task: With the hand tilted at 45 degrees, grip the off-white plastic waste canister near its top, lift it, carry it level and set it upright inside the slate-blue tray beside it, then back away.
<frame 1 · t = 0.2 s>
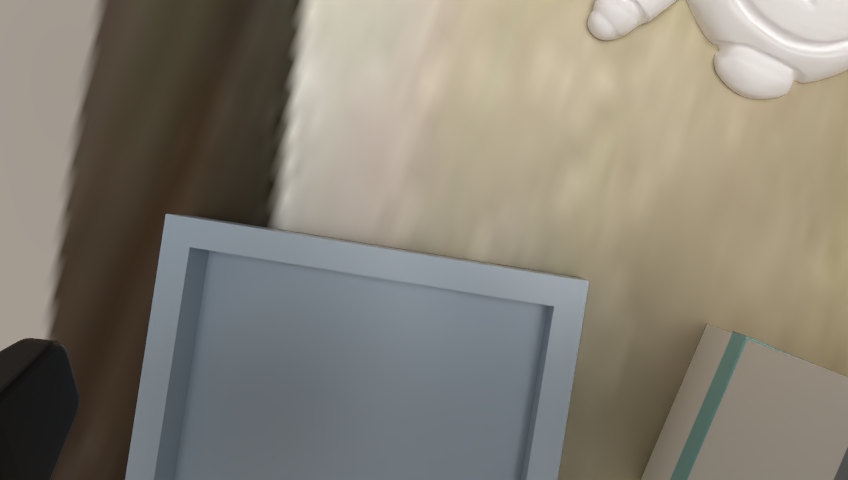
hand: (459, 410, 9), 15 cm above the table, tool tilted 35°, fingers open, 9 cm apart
drip tray: (353, 438, 24), on the table
waste canister: (755, 437, 23), on the table
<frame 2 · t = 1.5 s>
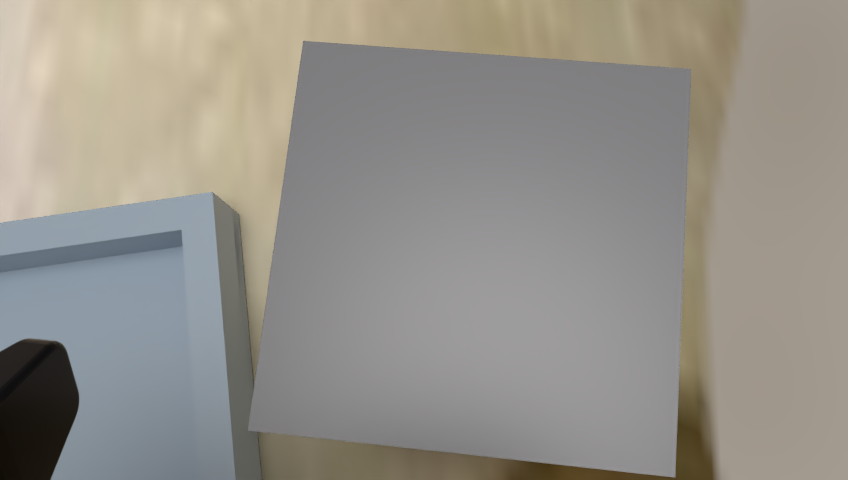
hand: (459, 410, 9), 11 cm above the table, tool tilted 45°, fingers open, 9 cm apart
drip tray: (30, 469, 20), on the table
waste canister: (472, 325, 20), on the table
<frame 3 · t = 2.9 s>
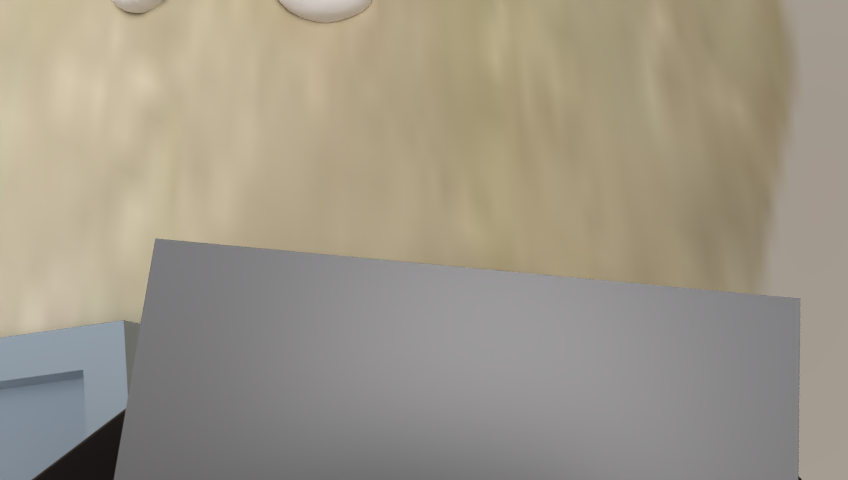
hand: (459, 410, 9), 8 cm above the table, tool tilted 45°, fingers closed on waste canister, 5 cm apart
waste canister: (456, 476, 16), on the table, touching gripper
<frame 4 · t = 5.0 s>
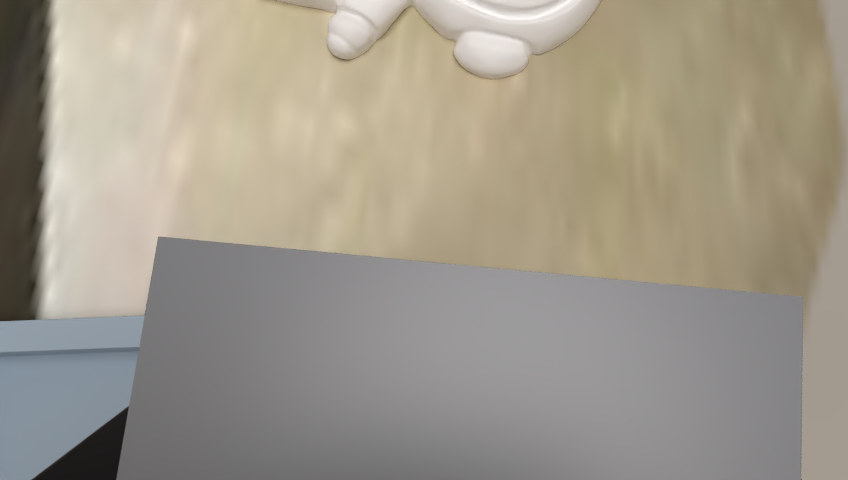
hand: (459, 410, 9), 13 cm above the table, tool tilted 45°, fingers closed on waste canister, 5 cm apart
waste canister: (457, 476, 16), point 6 cm above the table, touching gripper
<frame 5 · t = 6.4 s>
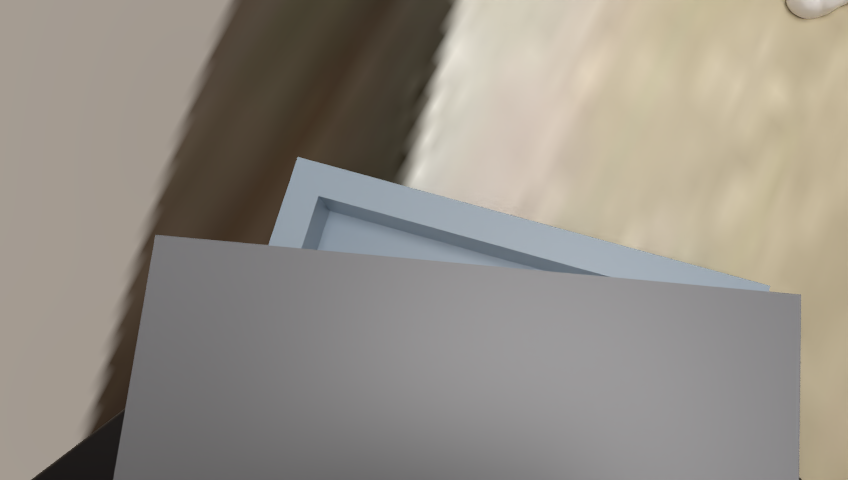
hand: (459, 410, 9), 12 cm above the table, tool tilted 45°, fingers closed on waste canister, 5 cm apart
drip tray: (460, 452, 20), on the table
waste canister: (456, 475, 16), point 4 cm above the table, touching gripper
when the fingers open (9 cm above the table, at t = 7.3 s): waste canister drops 1 cm, resting on drip tray.
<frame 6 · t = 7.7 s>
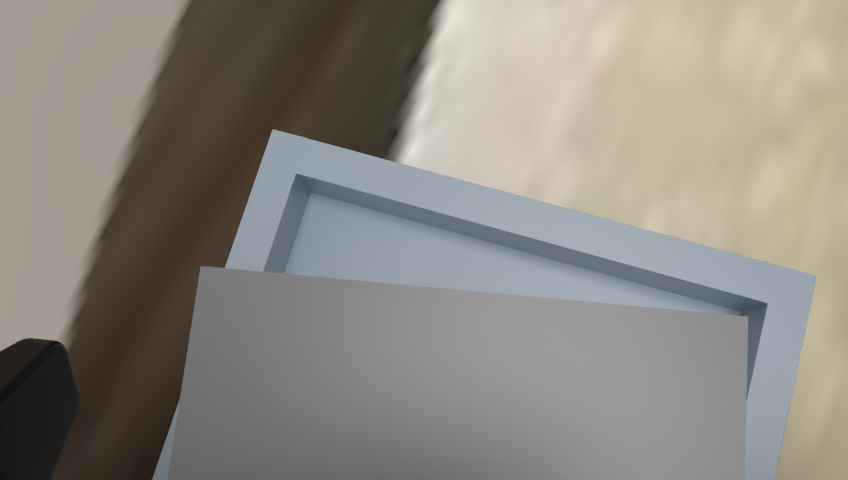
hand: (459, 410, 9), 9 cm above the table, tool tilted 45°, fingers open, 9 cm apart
drip tray: (458, 468, 18), on the table
waste canister: (457, 471, 17), point 1 cm above the table, touching drip tray
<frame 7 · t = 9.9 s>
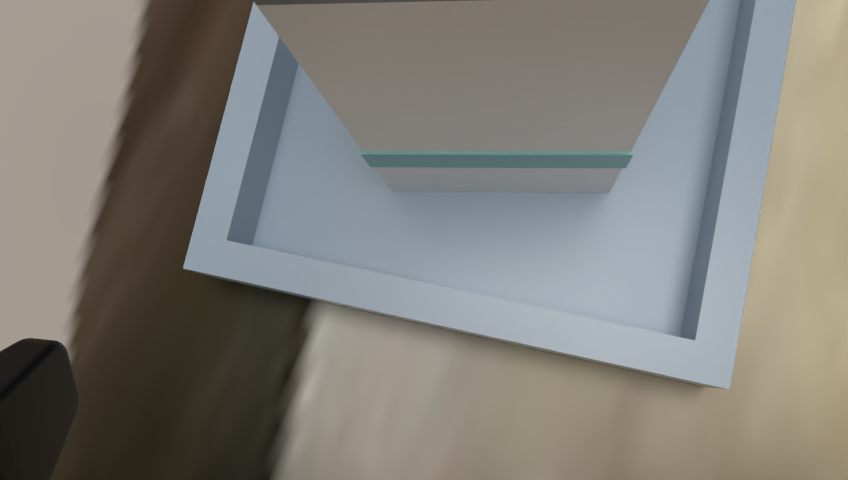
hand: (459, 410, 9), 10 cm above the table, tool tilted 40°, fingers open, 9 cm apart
drip tray: (502, 96, 19), on the table
waste canister: (501, 88, 19), point 1 cm above the table, touching drip tray
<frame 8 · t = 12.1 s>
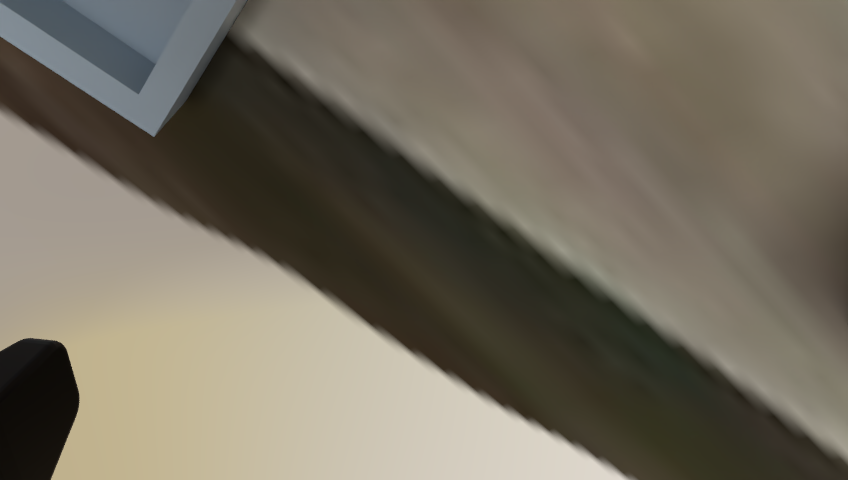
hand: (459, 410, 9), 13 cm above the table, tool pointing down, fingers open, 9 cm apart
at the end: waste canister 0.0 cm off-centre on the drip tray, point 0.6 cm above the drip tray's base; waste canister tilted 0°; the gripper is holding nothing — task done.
